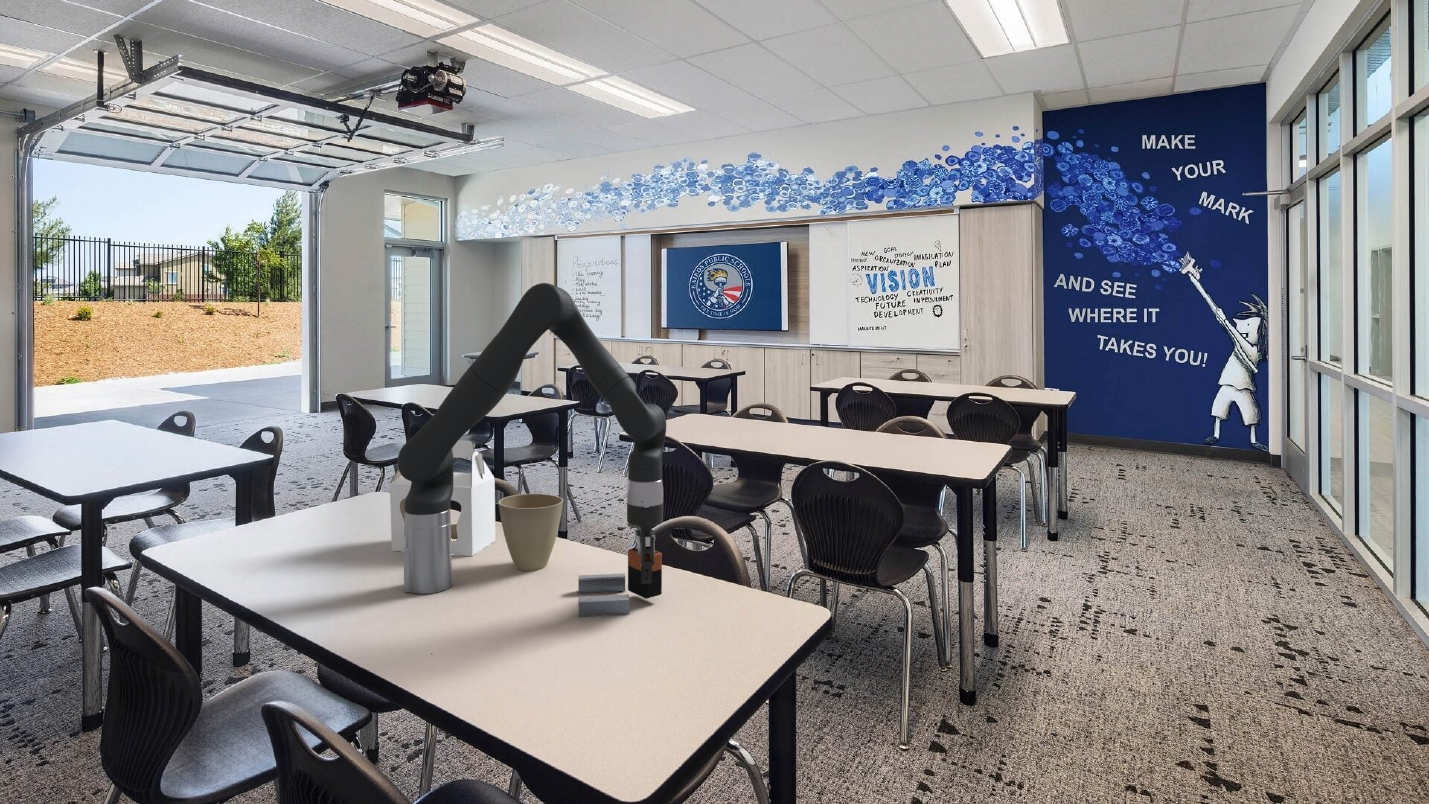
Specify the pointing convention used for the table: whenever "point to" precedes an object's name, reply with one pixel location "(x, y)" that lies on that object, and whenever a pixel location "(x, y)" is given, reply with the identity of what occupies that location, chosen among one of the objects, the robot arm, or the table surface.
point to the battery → (635, 575)
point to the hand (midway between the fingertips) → (644, 576)
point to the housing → (602, 603)
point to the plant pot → (530, 527)
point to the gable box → (467, 490)
